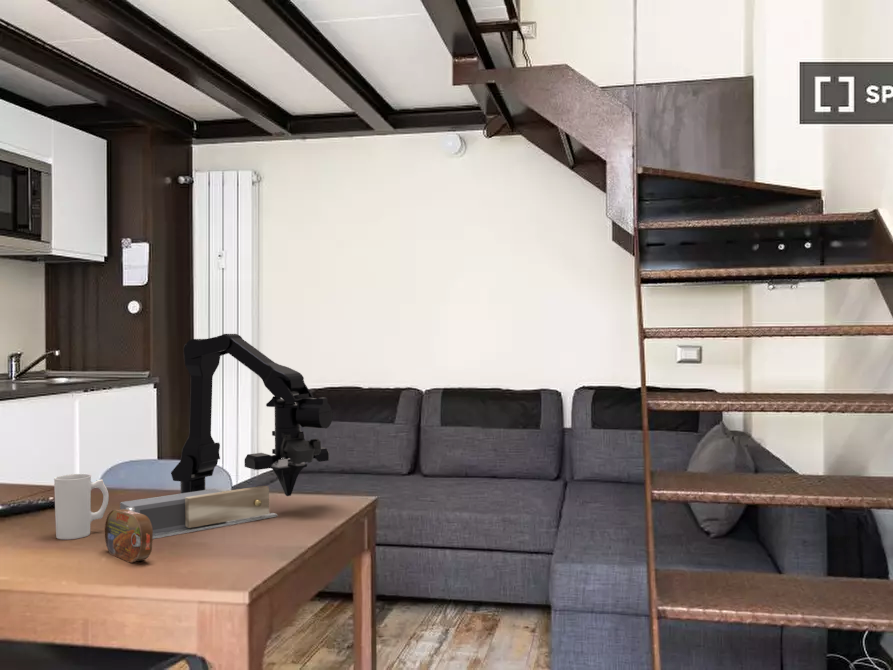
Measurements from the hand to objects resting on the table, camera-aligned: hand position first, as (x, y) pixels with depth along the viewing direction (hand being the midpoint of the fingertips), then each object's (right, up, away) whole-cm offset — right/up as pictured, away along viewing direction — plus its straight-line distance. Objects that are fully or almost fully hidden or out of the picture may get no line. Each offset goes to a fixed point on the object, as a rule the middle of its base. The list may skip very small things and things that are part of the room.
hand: (288, 495), depth 171 cm
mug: (-39, -5, -17) cm, 42 cm away
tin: (-22, -5, -33) cm, 40 cm away
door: (-11, -3, -10) cm, 15 cm away
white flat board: (-15, -4, -13) cm, 20 cm away
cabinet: (-21, -4, -12) cm, 25 cm away
